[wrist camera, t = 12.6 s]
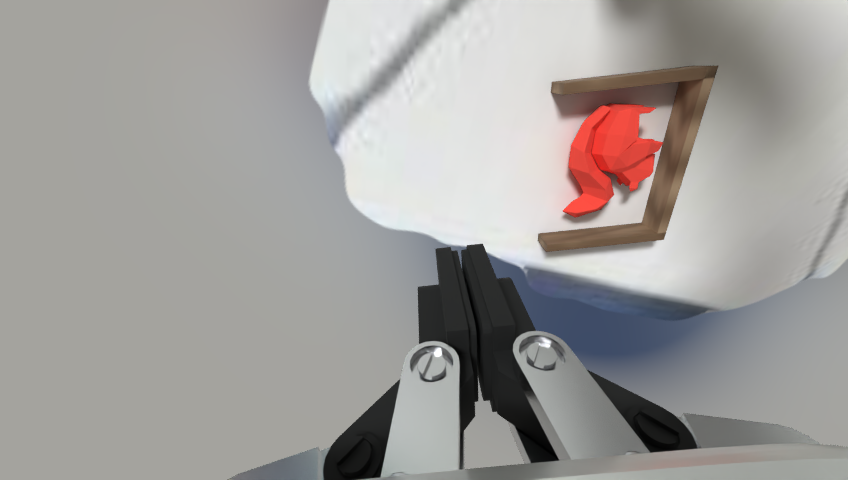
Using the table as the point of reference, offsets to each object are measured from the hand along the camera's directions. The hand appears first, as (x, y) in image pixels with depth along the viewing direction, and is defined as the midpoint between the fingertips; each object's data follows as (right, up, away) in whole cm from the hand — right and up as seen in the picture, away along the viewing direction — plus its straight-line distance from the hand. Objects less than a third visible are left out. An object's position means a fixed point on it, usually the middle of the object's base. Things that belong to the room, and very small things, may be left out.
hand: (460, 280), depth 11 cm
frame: (+23, +12, +32) cm, 42 cm away
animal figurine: (+23, +12, +32) cm, 42 cm away
